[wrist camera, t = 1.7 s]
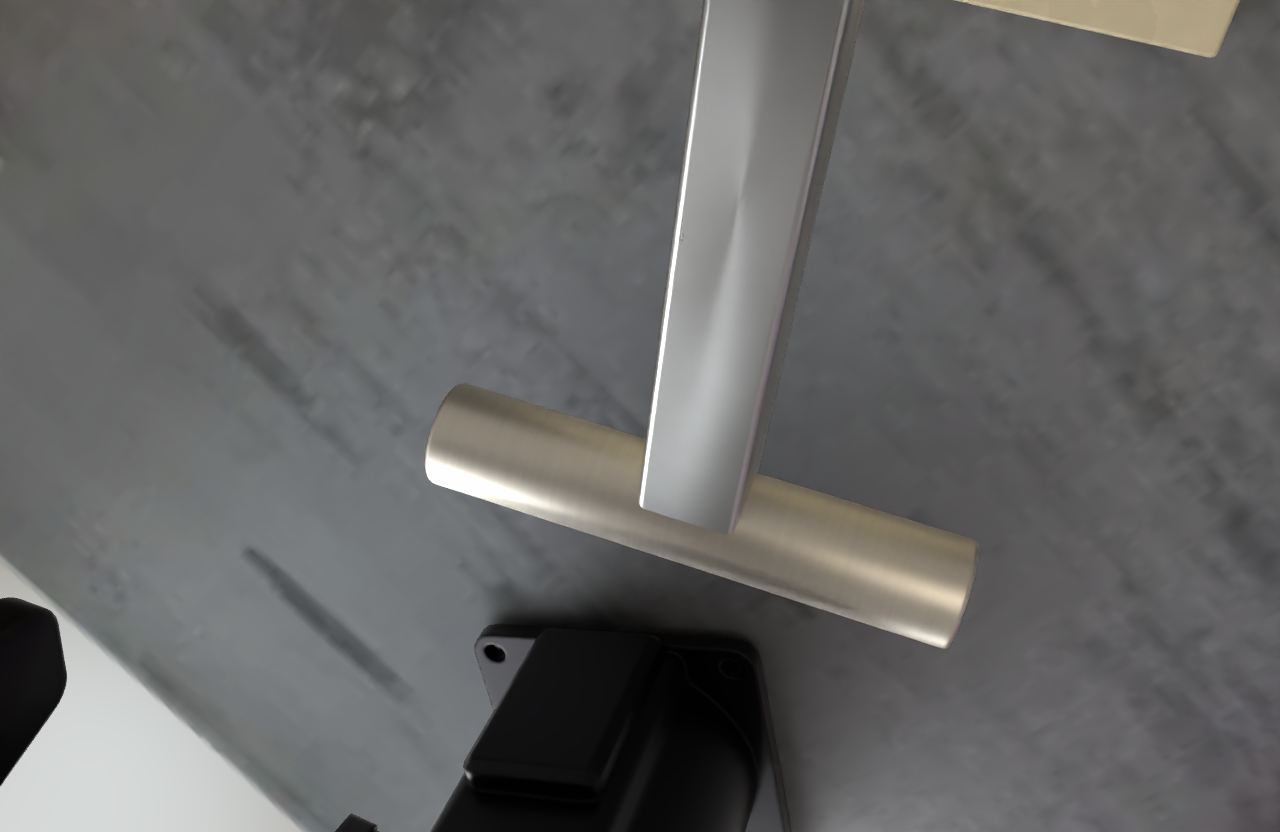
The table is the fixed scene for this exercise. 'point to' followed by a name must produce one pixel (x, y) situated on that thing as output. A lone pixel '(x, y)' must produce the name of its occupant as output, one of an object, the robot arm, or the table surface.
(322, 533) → the table surface
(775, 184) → the lever
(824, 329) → the table surface
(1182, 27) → the bracket
